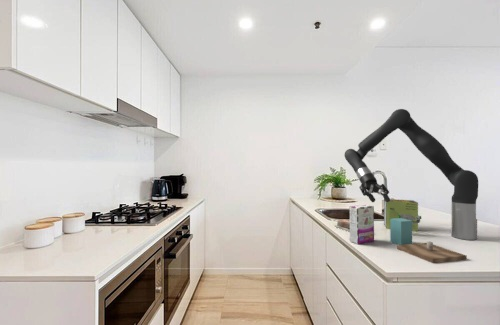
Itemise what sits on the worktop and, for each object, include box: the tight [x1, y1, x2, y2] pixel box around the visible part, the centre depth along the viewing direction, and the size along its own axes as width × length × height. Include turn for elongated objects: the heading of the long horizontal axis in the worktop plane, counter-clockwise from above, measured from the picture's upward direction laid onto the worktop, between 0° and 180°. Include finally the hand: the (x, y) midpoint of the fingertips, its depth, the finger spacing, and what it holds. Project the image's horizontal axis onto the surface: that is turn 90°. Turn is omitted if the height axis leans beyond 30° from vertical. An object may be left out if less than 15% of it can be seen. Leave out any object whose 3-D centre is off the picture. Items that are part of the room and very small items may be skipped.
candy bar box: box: [349, 204, 375, 245], centre depth 117 cm, size 11×5×16 cm, turn 117°
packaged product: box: [334, 218, 350, 233], centre depth 137 cm, size 18×5×10 cm
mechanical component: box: [398, 214, 422, 226], centre depth 129 cm, size 3×10×10 cm, turn 79°
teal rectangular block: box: [389, 218, 413, 245], centre depth 114 cm, size 6×6×11 cm
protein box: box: [383, 198, 419, 232], centre depth 143 cm, size 10×15×16 cm
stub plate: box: [396, 241, 468, 264], centre depth 101 cm, size 16×16×4 cm
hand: (381, 201), depth 126 cm, fingers open, 8 cm apart
